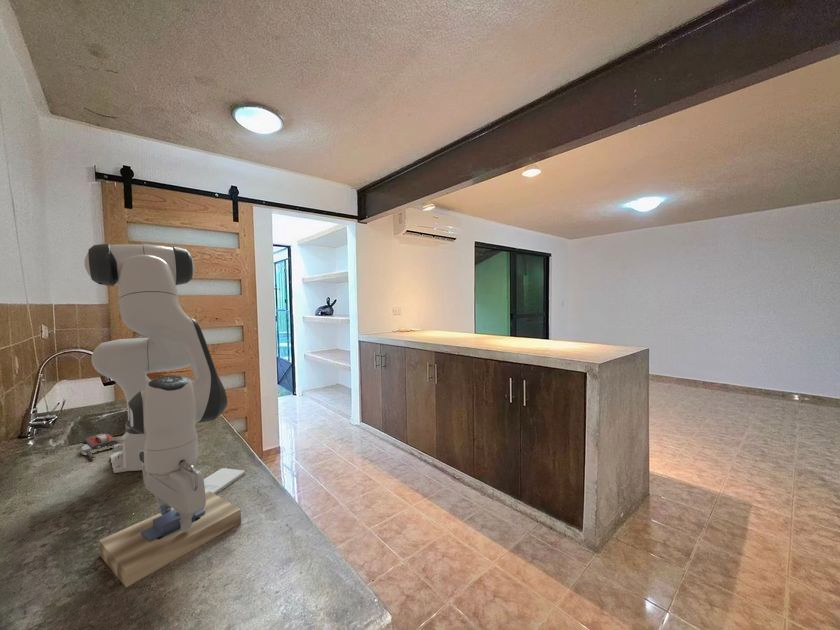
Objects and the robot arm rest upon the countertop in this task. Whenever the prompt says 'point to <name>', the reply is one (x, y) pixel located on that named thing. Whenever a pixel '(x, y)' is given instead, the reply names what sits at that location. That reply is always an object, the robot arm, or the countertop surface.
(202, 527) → the wooden board with hole
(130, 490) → the countertop surface
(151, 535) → the block
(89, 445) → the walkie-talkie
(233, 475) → the external hard drive
